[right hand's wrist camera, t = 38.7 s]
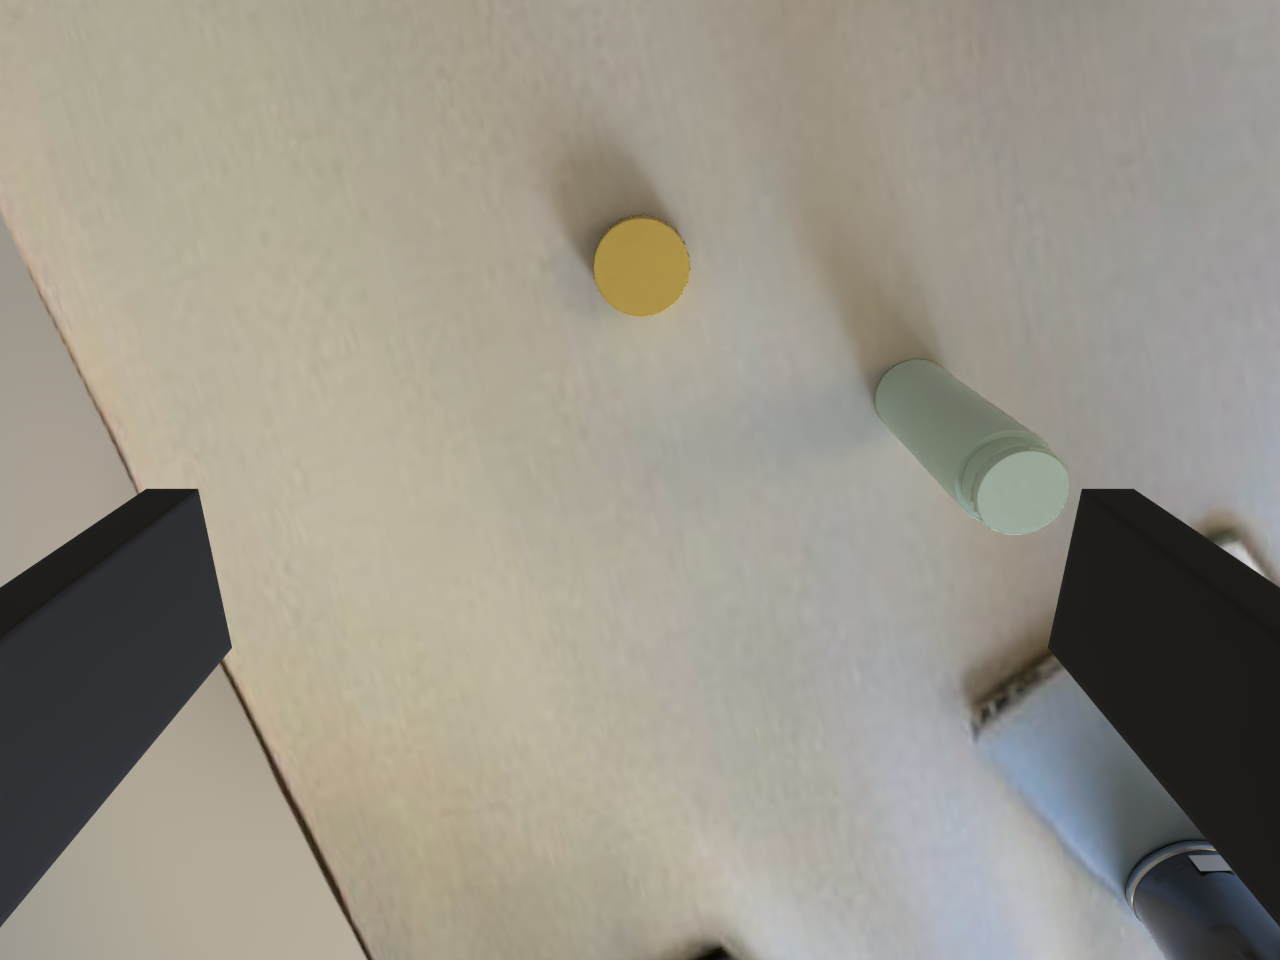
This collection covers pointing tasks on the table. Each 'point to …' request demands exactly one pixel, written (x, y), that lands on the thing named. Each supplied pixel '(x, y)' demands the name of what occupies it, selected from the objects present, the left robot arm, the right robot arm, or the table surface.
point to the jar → (973, 448)
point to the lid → (641, 266)
